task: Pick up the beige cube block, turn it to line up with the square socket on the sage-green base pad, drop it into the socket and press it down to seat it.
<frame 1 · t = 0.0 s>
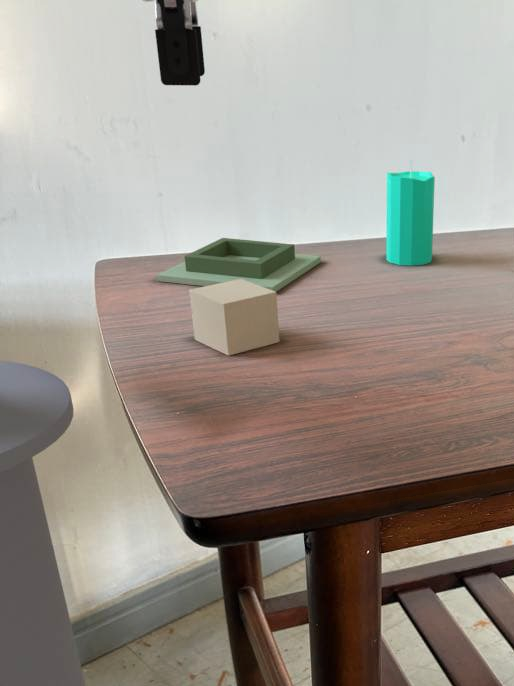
hand: (184, 80, 77), 23 cm above the table, tool pointing down, fingers open, 9 cm apart
candle: (409, 261, 114), on the table
base pad: (242, 271, 108), on the table
beige cube block: (237, 341, 86), on the table
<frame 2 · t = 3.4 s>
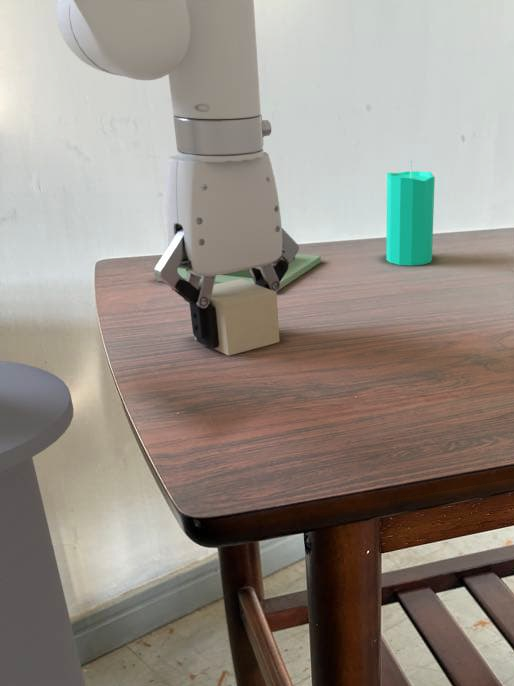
hand: (236, 335, 86), 1 cm above the table, tool pointing down, fingers closed on beige cube block, 6 cm apart
beige cube block: (237, 341, 86), on the table, touching gripper
everything else where it was.
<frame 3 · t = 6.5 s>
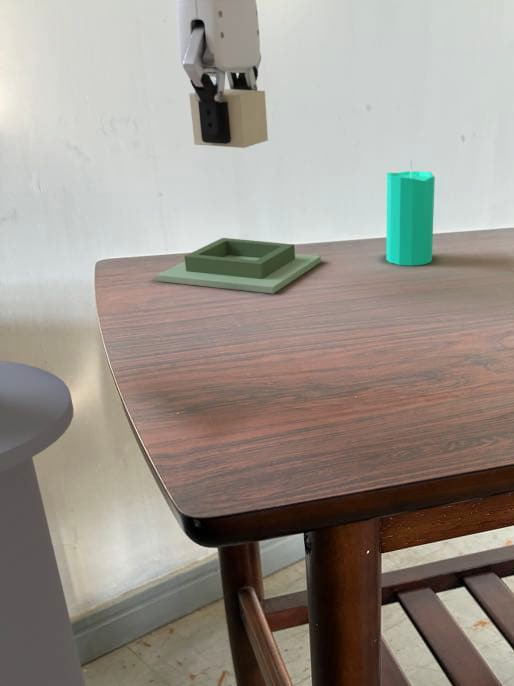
hand: (231, 136, 96), 16 cm above the table, tool pointing down, fingers closed on beige cube block, 6 cm apart
beige cube block: (231, 142, 97), point 15 cm above the table, touching gripper
everything else where it was.
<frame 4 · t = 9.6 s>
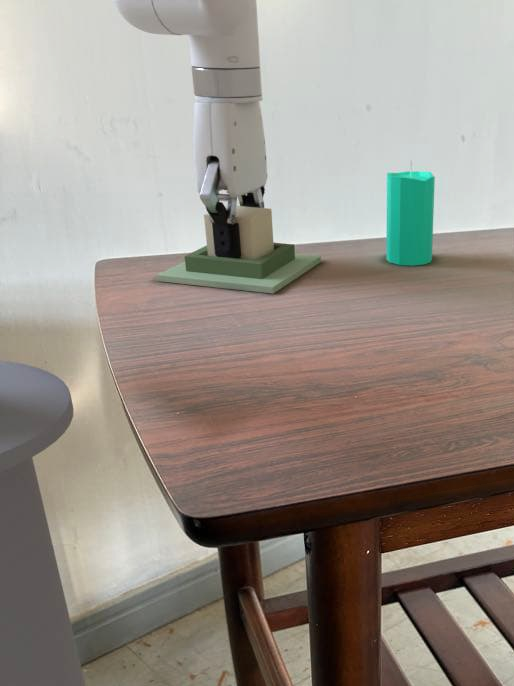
hand: (240, 249, 107), 3 cm above the table, tool pointing down, fingers closed on beige cube block, 6 cm apart
beige cube block: (241, 254, 107), point 2 cm above the table, touching gripper
everything else where it was.
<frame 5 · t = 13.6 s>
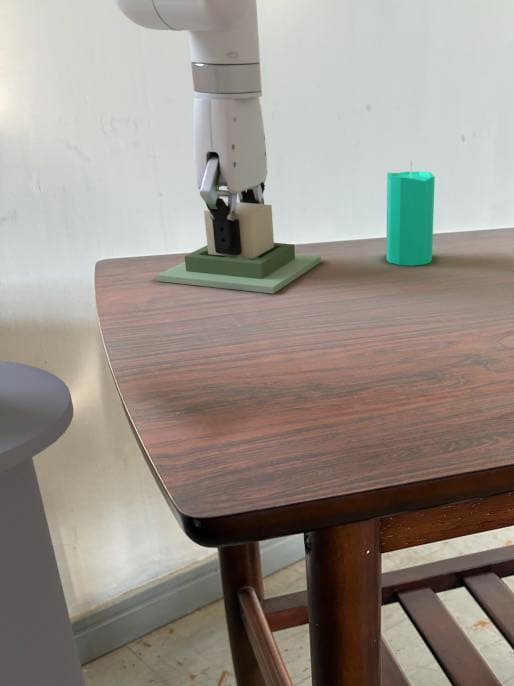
hand: (240, 245, 106), 3 cm above the table, tool pointing down, fingers closed on beige cube block, 5 cm apart
beige cube block: (241, 250, 107), point 3 cm above the table, touching gripper
everything else where it was.
when the fingers open (4 cm above the table, at t = 17.5 s): beige cube block drops 2 cm, resting on base pad.
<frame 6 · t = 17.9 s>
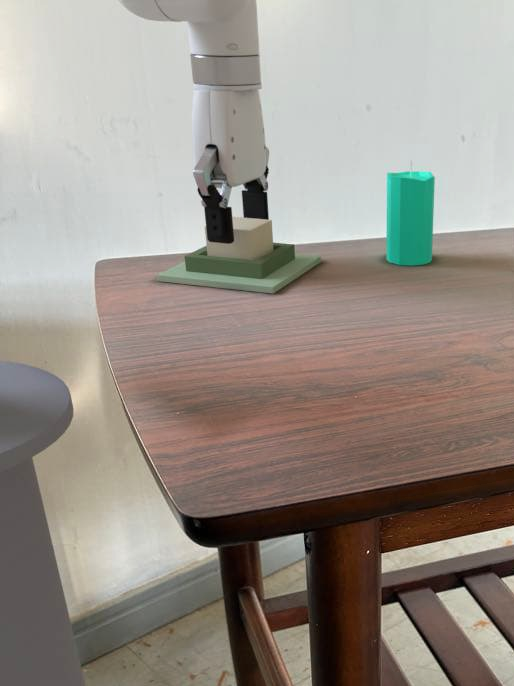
hand: (239, 233, 106), 5 cm above the table, tool pointing down, fingers open, 9 cm apart
beige cube block: (242, 265, 108), point 1 cm above the table, touching base pad
everything else where it was.
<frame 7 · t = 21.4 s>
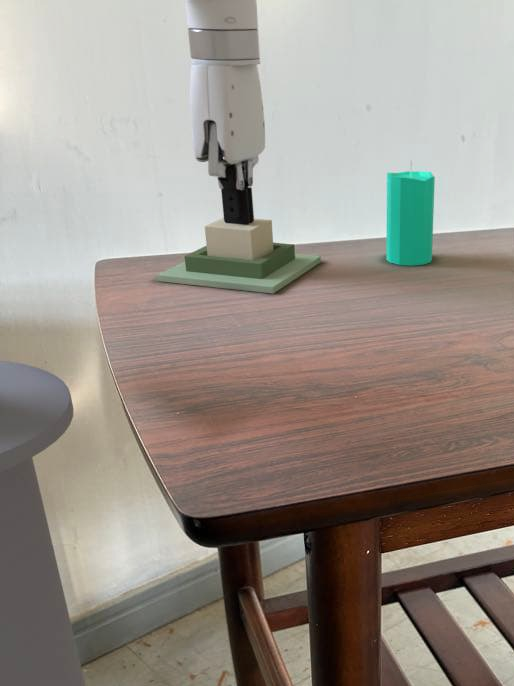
hand: (239, 222, 105), 6 cm above the table, tool pointing down, fingers closed
beige cube block: (242, 265, 108), point 1 cm above the table, touching base pad, gripper
everything else where it was.
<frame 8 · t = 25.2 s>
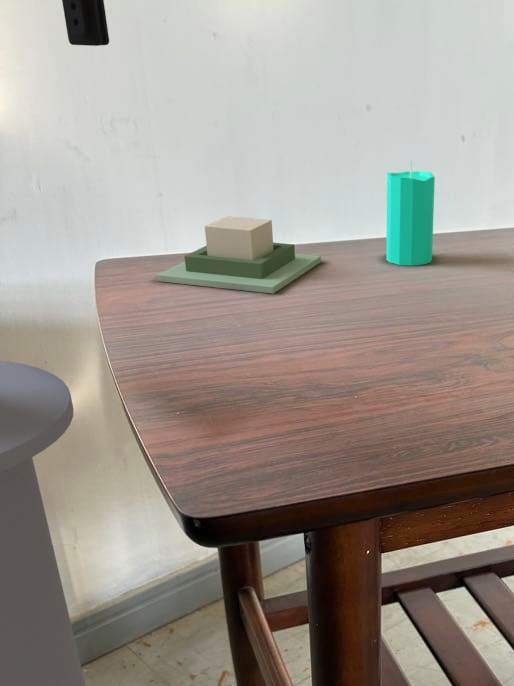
hand: (89, 44, 79), 25 cm above the table, tool pointing down, fingers closed
beige cube block: (242, 265, 108), point 1 cm above the table, touching base pad
everything else where it was.
at the end: beige cube block 0.1 cm off-centre on the base pad, point 0.8 cm above the base pad's base; beige cube block tilted 0°; the gripper is holding nothing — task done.
